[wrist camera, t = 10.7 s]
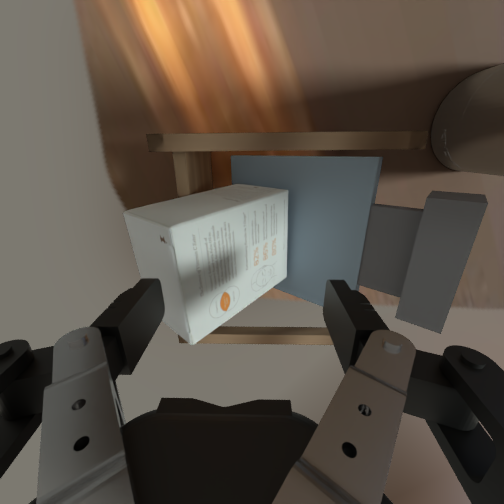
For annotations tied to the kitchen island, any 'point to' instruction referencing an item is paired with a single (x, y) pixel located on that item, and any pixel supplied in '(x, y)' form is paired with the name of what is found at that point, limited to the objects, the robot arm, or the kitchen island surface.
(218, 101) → the kitchen island surface
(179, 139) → the trapdoor frame
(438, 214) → the trapdoor
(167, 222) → the small box
